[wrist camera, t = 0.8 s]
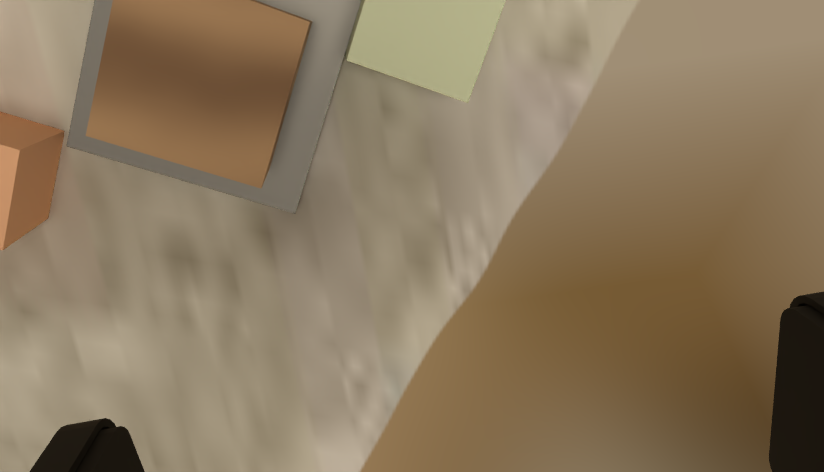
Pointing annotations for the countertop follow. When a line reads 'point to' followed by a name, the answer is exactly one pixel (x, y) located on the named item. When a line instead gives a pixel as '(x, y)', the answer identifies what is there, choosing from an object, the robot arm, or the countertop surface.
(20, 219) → the terracotta brick
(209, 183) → the build plate
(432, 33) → the sage brick
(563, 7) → the countertop surface
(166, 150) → the walnut brick
